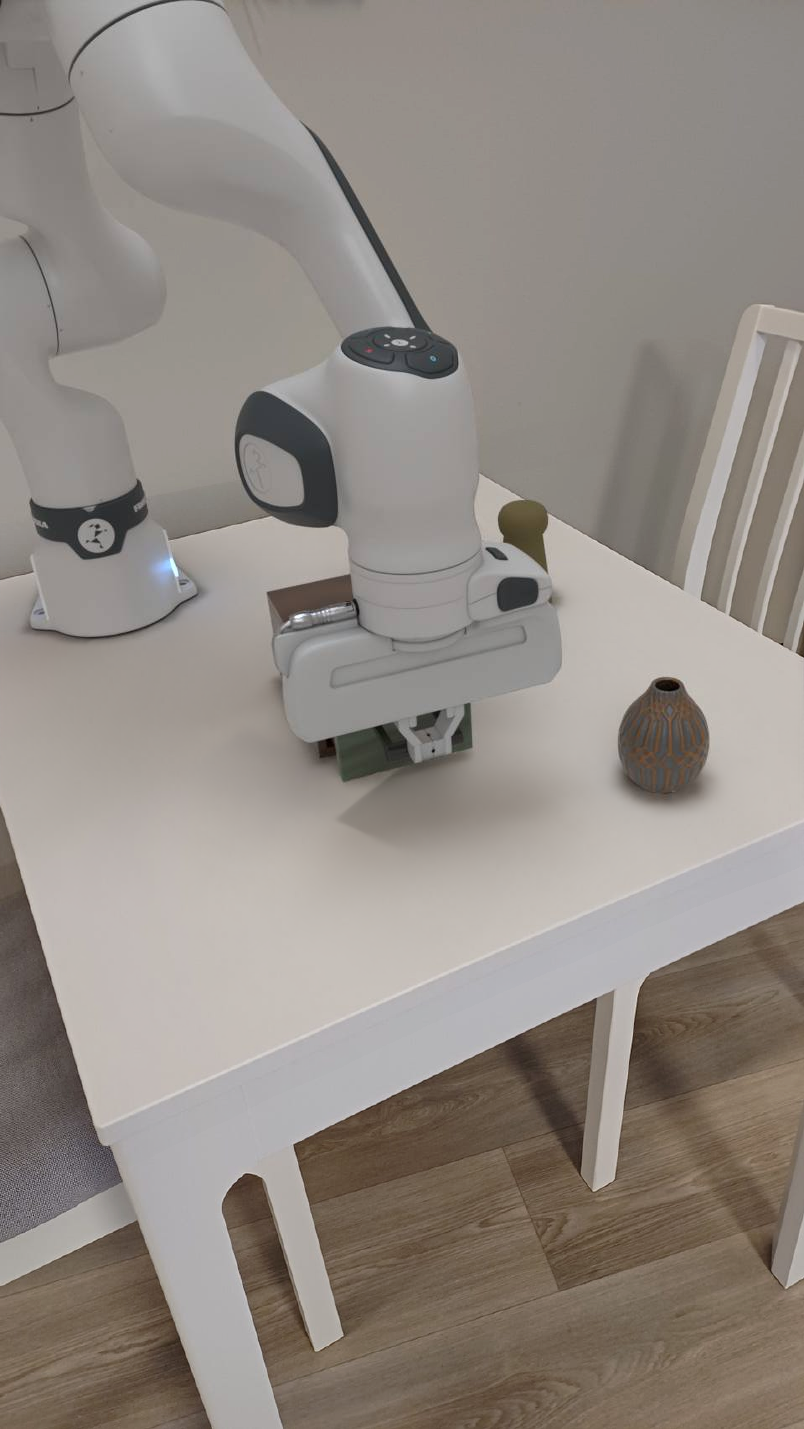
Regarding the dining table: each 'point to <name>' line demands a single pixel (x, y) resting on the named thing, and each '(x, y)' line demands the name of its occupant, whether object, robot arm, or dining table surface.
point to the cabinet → (309, 599)
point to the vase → (663, 738)
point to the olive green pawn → (525, 528)
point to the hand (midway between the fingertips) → (429, 754)
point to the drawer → (390, 746)
